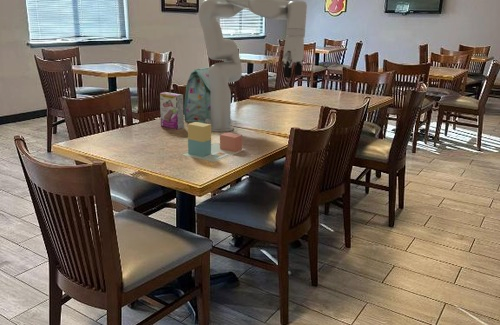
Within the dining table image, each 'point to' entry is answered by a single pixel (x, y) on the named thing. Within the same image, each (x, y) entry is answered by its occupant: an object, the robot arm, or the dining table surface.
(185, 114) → the lunch bag
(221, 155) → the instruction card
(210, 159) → the mat
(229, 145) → the brick
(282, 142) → the dining table surface
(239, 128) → the dining table surface
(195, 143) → the tower base
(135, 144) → the dining table surface
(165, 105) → the candy bar box
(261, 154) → the dining table surface
